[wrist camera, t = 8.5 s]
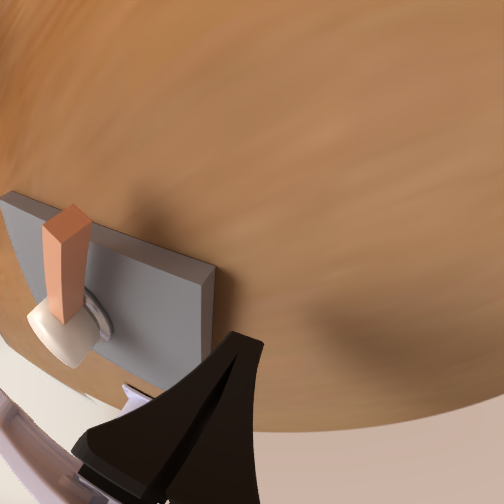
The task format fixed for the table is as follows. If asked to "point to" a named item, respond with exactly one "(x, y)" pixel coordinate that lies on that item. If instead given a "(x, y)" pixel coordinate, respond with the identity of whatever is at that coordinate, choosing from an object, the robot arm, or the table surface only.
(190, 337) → the base plate
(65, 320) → the handle
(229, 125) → the table surface
